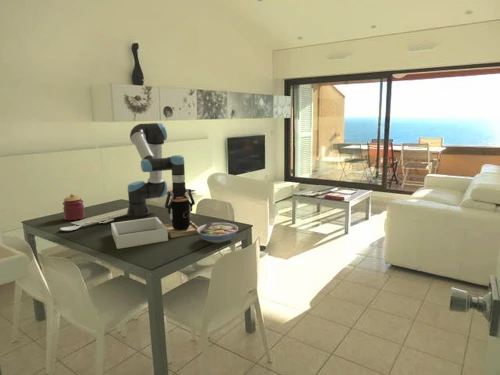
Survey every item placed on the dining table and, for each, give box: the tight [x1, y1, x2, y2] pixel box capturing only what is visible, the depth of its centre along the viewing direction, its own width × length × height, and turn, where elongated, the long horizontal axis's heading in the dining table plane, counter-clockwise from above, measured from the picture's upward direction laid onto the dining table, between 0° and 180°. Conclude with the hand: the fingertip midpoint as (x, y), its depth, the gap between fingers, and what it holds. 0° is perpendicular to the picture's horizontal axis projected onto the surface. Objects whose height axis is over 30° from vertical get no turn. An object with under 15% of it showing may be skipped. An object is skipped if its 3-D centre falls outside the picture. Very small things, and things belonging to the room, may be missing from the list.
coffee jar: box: [170, 196, 191, 229], centre depth 219 cm, size 11×11×18 cm
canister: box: [62, 193, 86, 222], centre depth 251 cm, size 13×13×18 cm
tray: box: [164, 220, 199, 239], centre depth 221 cm, size 20×18×2 cm
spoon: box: [59, 216, 115, 232], centre depth 233 cm, size 9×32×4 cm, turn 133°
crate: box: [110, 216, 169, 250], centre depth 210 cm, size 27×27×7 cm
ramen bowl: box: [197, 219, 239, 244], centre depth 201 cm, size 25×23×8 cm
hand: (180, 217), depth 220 cm, fingers closed on coffee jar, 11 cm apart
